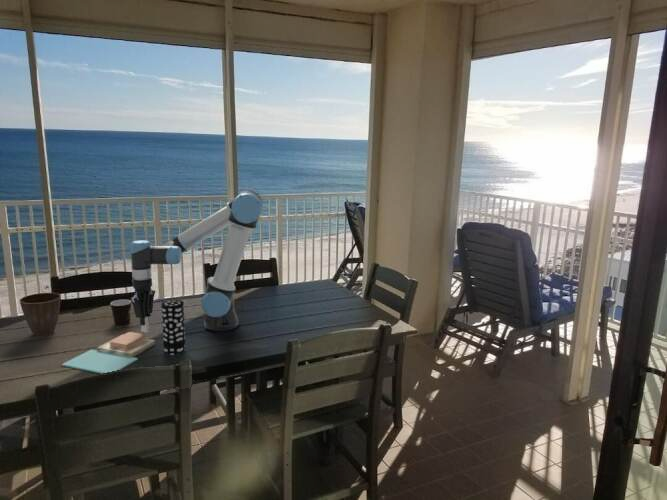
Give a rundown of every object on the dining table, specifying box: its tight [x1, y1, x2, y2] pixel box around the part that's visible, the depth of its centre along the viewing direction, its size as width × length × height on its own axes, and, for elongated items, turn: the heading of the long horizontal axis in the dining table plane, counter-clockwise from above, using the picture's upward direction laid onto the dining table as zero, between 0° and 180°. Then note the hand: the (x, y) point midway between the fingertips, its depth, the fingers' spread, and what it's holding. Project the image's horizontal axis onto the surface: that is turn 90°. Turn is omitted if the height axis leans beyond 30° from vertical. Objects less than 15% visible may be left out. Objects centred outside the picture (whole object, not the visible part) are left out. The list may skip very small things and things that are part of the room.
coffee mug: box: [110, 299, 132, 327], centre depth 220 cm, size 12×9×10 cm
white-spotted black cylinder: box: [160, 299, 186, 356], centre depth 190 cm, size 8×8×20 cm
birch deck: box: [96, 334, 156, 358], centre depth 193 cm, size 16×14×2 cm
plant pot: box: [19, 292, 62, 337], centre depth 204 cm, size 15×15×16 cm
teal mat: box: [61, 349, 139, 375], centre depth 180 cm, size 22×14×1 cm, turn 72°
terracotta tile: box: [109, 331, 147, 349], centre depth 194 cm, size 8×11×2 cm
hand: (145, 331), depth 203 cm, fingers closed
